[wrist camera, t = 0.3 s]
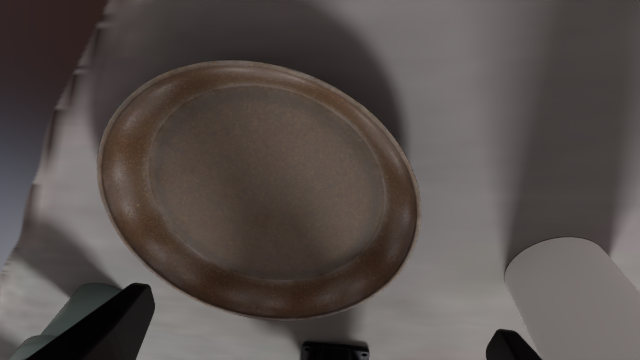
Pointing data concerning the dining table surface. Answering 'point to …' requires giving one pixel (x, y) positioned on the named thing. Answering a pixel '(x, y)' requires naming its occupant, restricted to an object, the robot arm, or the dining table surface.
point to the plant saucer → (259, 190)
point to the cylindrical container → (575, 301)
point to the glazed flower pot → (68, 316)
